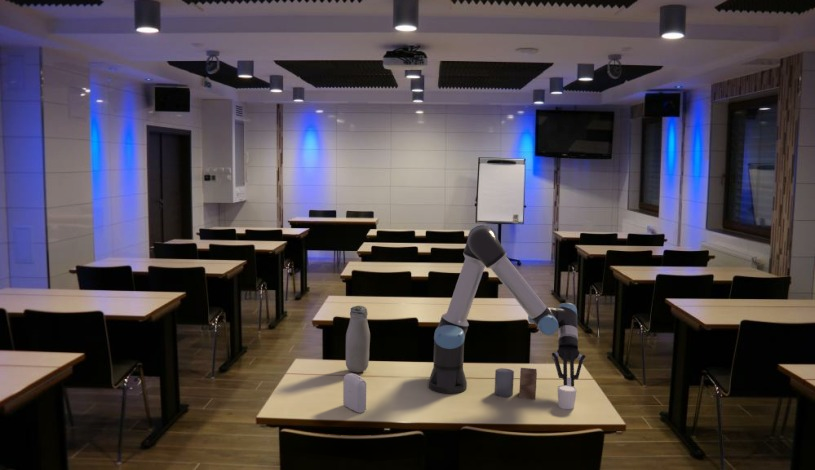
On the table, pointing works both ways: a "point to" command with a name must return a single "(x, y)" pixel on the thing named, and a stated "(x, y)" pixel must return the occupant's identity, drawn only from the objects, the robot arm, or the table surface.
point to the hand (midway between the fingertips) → (568, 395)
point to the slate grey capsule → (504, 382)
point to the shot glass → (566, 396)
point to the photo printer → (354, 392)
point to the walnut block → (528, 383)
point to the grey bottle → (357, 340)
